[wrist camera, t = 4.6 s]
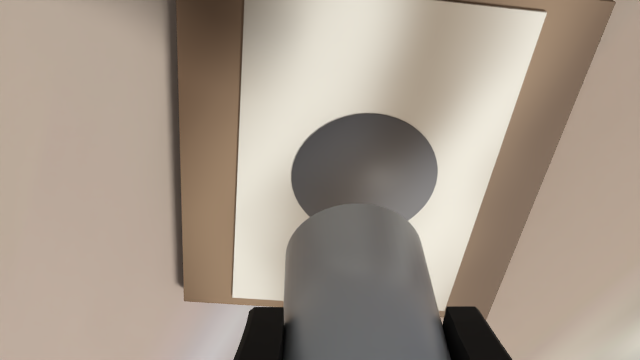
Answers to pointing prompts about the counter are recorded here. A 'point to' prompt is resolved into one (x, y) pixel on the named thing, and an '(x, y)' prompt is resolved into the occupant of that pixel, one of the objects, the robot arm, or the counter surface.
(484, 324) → the robot arm
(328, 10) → the board
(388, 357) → the cylinder
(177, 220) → the counter surface
